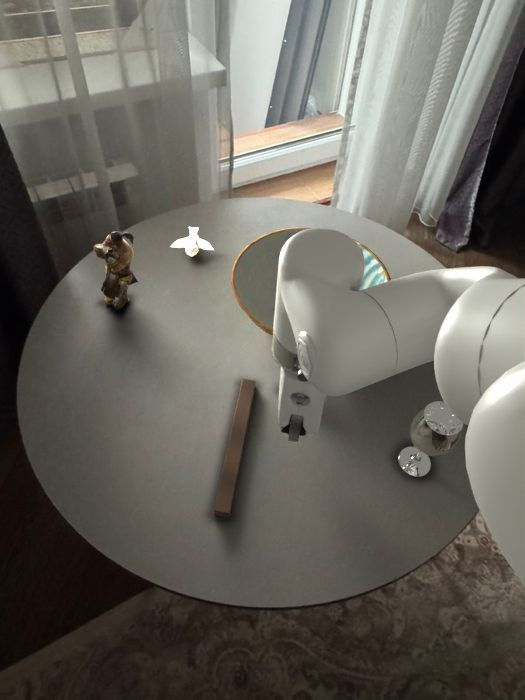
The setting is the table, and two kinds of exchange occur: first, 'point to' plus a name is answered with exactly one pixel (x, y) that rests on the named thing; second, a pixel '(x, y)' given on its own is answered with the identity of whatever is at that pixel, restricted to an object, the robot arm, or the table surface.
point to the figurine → (116, 267)
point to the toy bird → (192, 243)
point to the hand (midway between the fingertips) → (293, 429)
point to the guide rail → (235, 449)
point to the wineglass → (430, 438)
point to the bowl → (262, 271)
